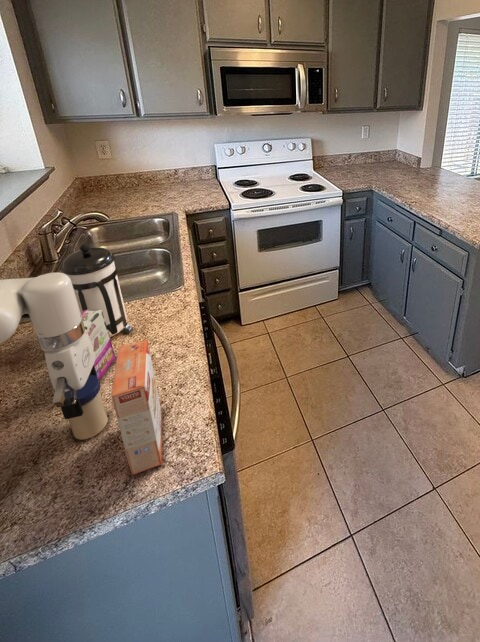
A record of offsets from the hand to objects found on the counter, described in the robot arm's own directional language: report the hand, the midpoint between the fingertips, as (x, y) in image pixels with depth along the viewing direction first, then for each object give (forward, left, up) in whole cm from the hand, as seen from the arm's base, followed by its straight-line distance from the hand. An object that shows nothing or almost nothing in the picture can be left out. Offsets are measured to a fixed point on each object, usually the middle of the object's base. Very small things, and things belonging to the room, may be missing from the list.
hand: (82, 397), depth 77 cm
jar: (0, 0, -9) cm, 9 cm away
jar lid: (0, 0, +2) cm, 2 cm away
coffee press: (+5, +33, -9) cm, 34 cm away
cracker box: (+11, -11, -9) cm, 17 cm away
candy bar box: (+1, +17, -9) cm, 19 cm away
